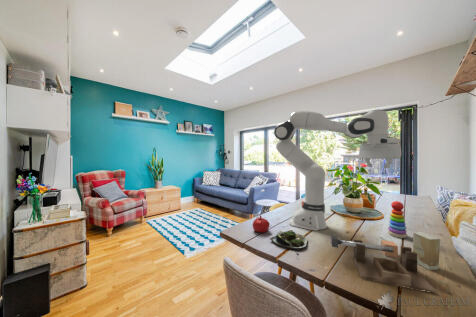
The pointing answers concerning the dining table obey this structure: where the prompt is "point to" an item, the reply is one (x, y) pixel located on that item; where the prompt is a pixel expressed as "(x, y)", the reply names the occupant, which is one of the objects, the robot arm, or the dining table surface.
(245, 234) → the dining table surface
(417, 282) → the bearing bracket
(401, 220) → the stacking toy
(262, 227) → the pomegranate
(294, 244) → the salad plate
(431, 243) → the skincare box
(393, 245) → the block
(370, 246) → the shaft
